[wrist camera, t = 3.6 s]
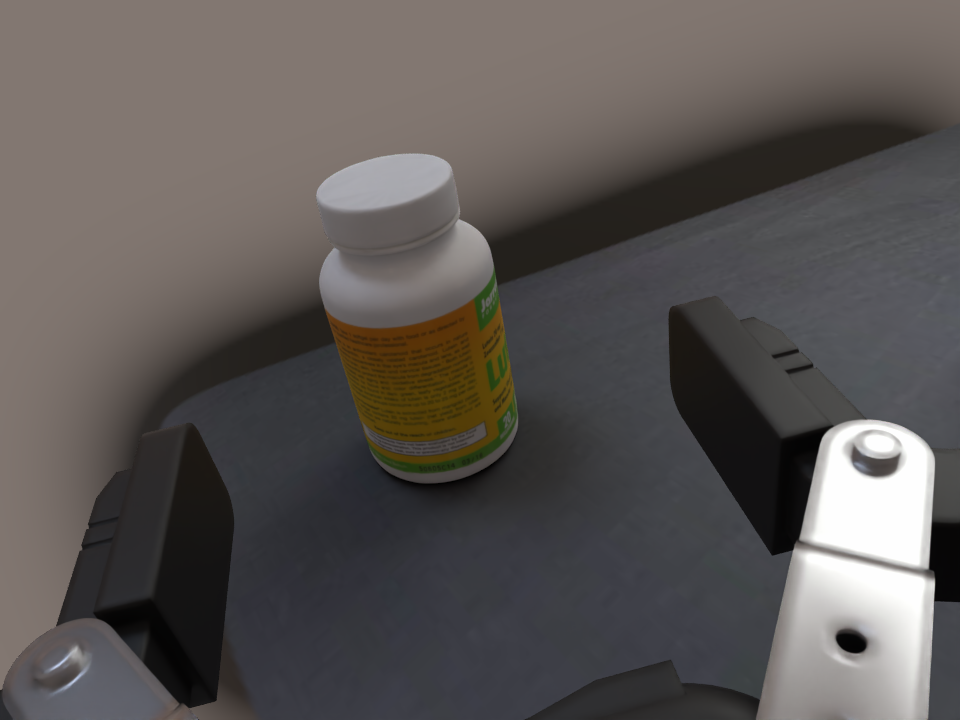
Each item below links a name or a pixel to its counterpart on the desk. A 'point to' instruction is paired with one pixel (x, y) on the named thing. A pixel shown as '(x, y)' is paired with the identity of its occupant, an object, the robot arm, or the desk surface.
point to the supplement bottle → (416, 319)
